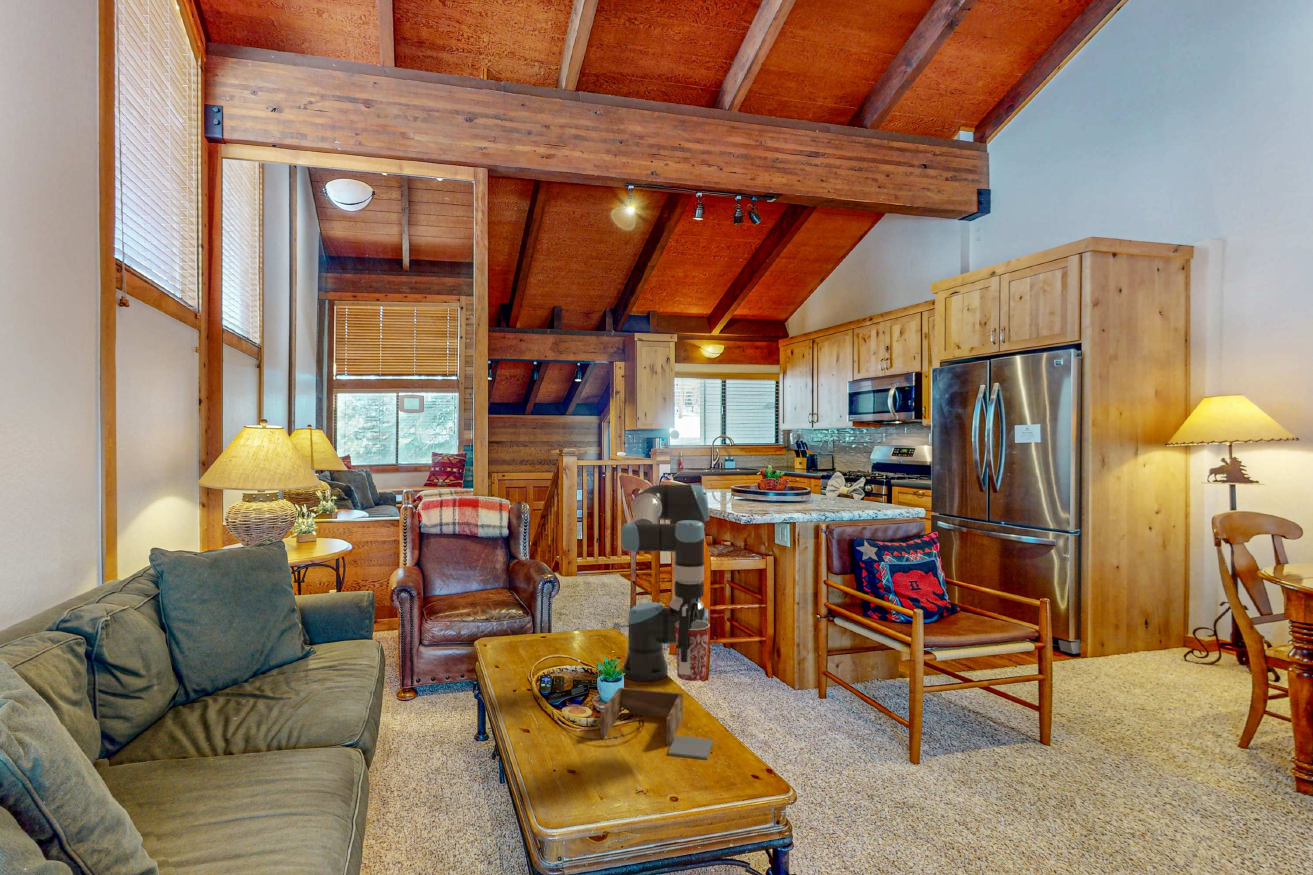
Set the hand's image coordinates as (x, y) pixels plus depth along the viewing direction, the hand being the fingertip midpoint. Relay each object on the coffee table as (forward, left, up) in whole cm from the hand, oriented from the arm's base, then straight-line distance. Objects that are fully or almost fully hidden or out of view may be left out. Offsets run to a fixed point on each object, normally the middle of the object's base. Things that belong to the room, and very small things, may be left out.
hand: (688, 666), depth 177 cm
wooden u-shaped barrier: (-9, -14, -21) cm, 27 cm away
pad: (0, +1, -21) cm, 21 cm away
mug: (-1, 0, -2) cm, 2 cm away
